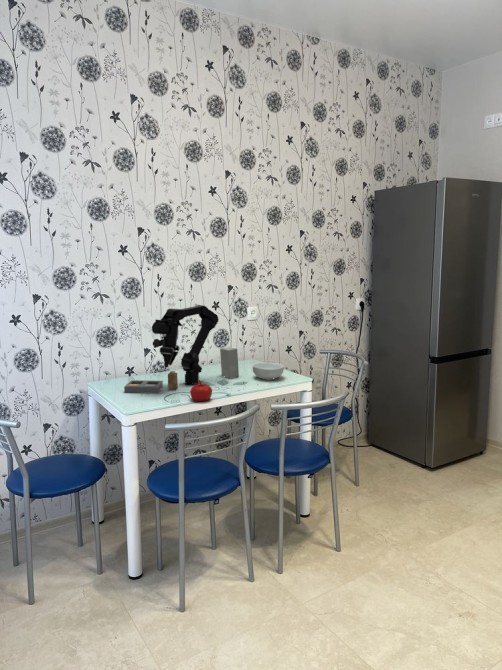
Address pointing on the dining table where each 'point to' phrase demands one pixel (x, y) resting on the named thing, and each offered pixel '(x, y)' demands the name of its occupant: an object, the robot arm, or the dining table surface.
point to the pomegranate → (201, 392)
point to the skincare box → (229, 362)
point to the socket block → (143, 386)
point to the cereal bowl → (268, 370)
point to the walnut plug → (172, 381)
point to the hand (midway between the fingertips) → (168, 366)
